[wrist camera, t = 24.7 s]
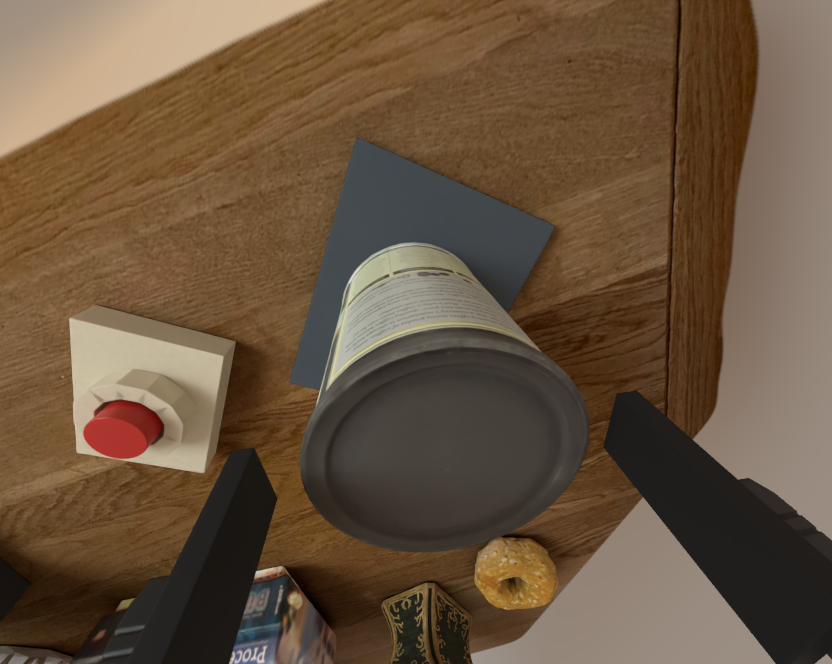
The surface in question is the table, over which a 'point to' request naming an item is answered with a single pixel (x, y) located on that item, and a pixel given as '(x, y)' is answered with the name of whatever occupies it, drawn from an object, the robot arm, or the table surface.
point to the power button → (123, 429)
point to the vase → (31, 656)
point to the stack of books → (252, 626)
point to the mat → (413, 239)
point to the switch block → (152, 382)
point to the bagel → (515, 573)
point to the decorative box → (427, 627)
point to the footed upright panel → (10, 588)
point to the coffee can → (436, 411)
